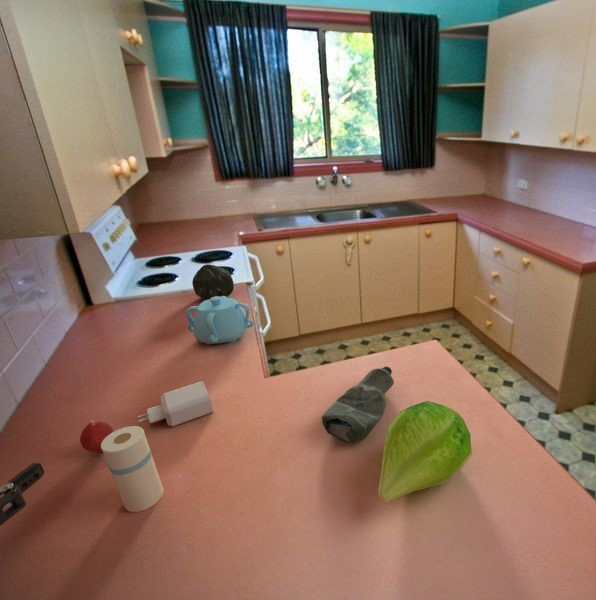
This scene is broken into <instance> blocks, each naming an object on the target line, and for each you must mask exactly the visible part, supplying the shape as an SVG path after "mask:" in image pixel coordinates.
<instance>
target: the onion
mask: <svg viewBox="0 0 596 600" xmlns="http://www.w3.org/2000/svg"><path fill="white" fill-rule="evenodd" d="M114 431H115V430H114V429H113V428H112V426H111V425H110V424H109V423H107V422H104V421H97V420H96V421H95V420H90V421H89V422H88V424H87V425H86V426H85V427H84V428H83V429H82V431H81V433H80V436H79V442H80V445H81V447H82V448H83V449H84V450H85V451H87V452H89V453H103V451H102V449H101V443H102V441H103V440H104V439H105V438H106V437H107V436H108V435H109V434H111V433H113V432H114Z"/></svg>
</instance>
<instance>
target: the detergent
mask: <svg viewBox="0 0 596 600" xmlns="http://www.w3.org/2000/svg"><path fill="white" fill-rule="evenodd" d="M392 372H393V370H392V369H391V367H390V366H383V367H380V368H378V367H377V368H373V369H371V370H370V371H369V372H367V374H366V375H365V376H364V377H363V378H362V379H361V380H360V382H359V383H357V384H356V385H354V386H352V387H351V388H349V389H348V390H346V391H345V392H344V393H343V394H342V395H341V396H340V397H339V398H337V399H336V400H335V402H334V403H333V404H332V405H331V406H330V407H329V408H328V409H327V410H326V411H325V412H324V414H323V415H322V416H321V423H322V426H323V428H324V429H325V431H326V432H327V434H328V435H330V436H333V437H334V438H335V439H338V440H341V441H343V442H346V443H353V444H354V443H358V442H360V441H363V440H364V439H366V438H367V437H368V435H369V434H370V433H371V431H373V430H374V428H375V427H376V425H377V424H378V422H380V421H381V419H383V416H384V413H385V411H386V407H387V404H388V401H387V399H386V397H385V394H386V393H387V392H388V391H389V390H391V388H392V387H393V385H394V384H395V381H394V379H393V376H392Z"/></svg>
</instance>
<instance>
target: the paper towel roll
mask: <svg viewBox="0 0 596 600" xmlns="http://www.w3.org/2000/svg"><path fill="white" fill-rule="evenodd" d="M113 431H114V432H113V433H111V434H109V435H108V436H107V437H106V438H105V439H104V440H103V441H102V443H101V449H102V451H103V452H102V454H103V457H104V459H105V461H106V464H107V467H108V470H109V472H110V474H111V476H112V479H113V482H114V484H115V487H116V489H117V492H118V494H119V496H120V499H121V501H122V504H123V507H124V509H125V510H126V511H127V512H129V513H139V512H143V511H146V510H147V509H150V508H152V507H153V506H154V505H156V504H157V503H158V502H159V501H160V499H161V498H162V497H163V495H164V487H163V484H162V481H161V477H160V475H159V472H158V469H157V466H156V463H155V460H154V457H153V454H152V450H151V447H150V446H149V445H150V444H149V443H148V439H147V437H146V434H145V430H144V429H143V428H142V427H141V426H138V425H128V426H124V427H122V428H121V427H120V428H118V429H116V430H113Z"/></svg>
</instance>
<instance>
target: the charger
mask: <svg viewBox="0 0 596 600" xmlns="http://www.w3.org/2000/svg"><path fill="white" fill-rule="evenodd" d="M159 398H160V402H161V404H158V405H155V406H152V407H148V408H146V413H144V414H143V413H142V414H140V415H138V416H137V422H138V423H141V422H144V421H147V420H148V421H149V424H153V423H156V422H159V421H162V420H166V423H167V426H171V427H176V426H178V425H181V424H183V423H186V422H189V421H192V420H194V419H197V418H200V417H203V416H206V415H208V414H211V413H214V409H213V404H212V399H211V397H210V395H209V392H208V389H207V388H206V385H205V383H204V381H203V380H202V381H198V382H193V383H192V384H189V385H186V386H182V387H180V388H176V389H173V390H169V391H166V392H163V394H162V395H161V396H160V397H159ZM143 417H144V418H143Z"/></svg>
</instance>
